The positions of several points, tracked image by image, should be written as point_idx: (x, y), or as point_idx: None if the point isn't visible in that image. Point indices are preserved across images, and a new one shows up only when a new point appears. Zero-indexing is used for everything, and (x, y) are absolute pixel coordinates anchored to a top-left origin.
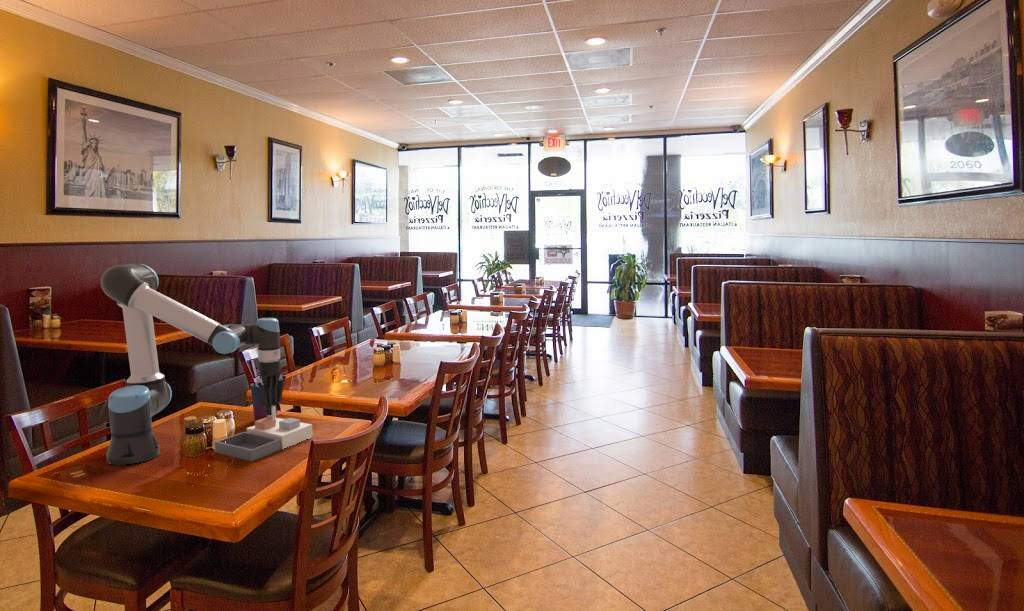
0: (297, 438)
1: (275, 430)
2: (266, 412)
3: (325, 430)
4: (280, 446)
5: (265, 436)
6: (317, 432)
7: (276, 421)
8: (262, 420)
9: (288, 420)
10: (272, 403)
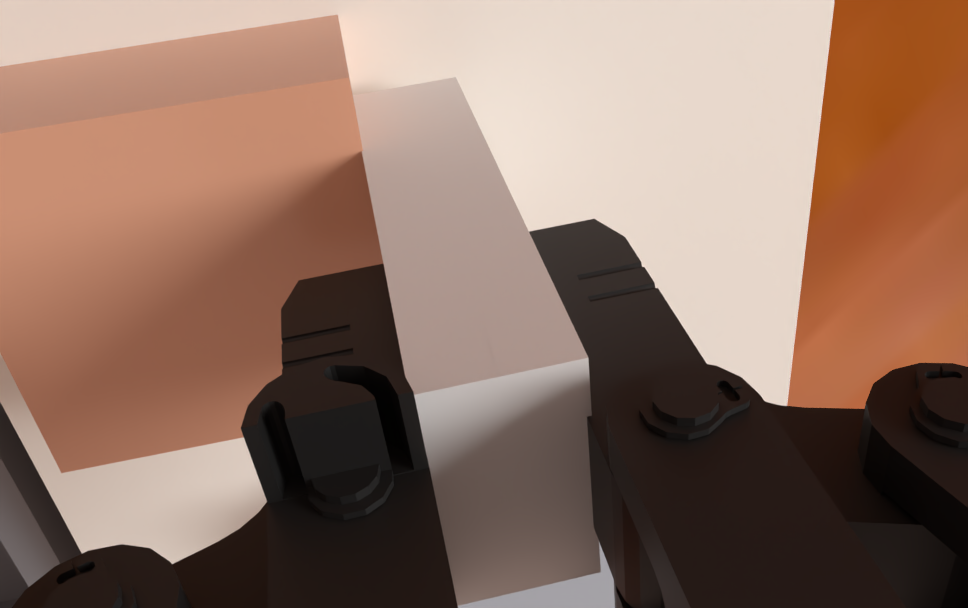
0: None
1: (240, 508)
2: (283, 353)
3: (964, 359)
4: None
5: (20, 503)
6: (867, 352)
7: (616, 31)
8: (134, 246)
9: (527, 601)
10: (612, 514)
